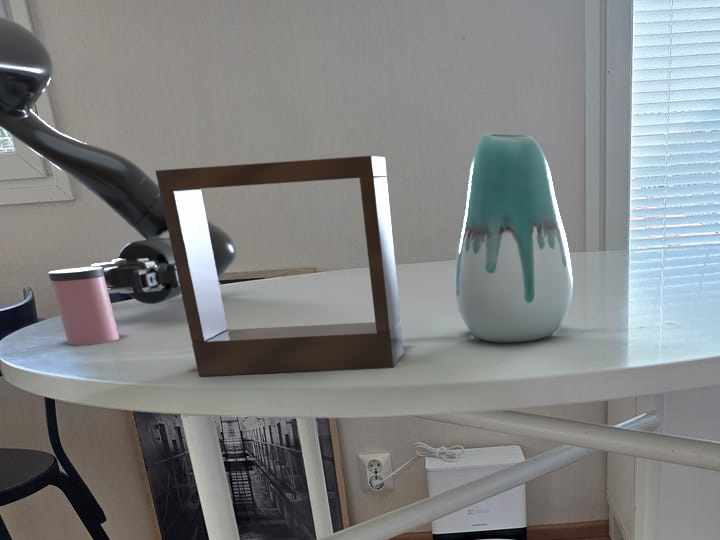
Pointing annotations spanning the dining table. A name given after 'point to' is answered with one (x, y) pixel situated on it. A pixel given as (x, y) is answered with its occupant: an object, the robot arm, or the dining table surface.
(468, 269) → the vase
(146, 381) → the dining table surface
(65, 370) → the dining table surface
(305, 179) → the shelf
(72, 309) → the liner canister
